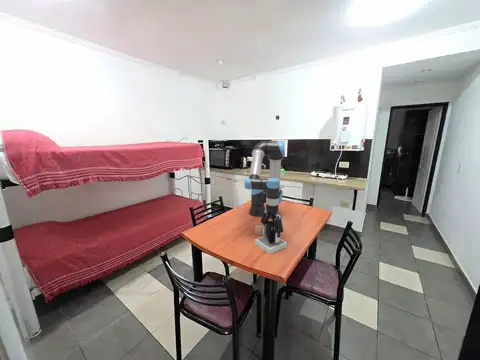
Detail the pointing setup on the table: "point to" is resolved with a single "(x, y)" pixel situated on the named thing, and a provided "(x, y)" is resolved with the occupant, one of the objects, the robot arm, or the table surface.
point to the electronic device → (270, 231)
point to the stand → (270, 244)
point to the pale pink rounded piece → (259, 229)
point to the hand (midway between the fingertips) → (270, 237)
